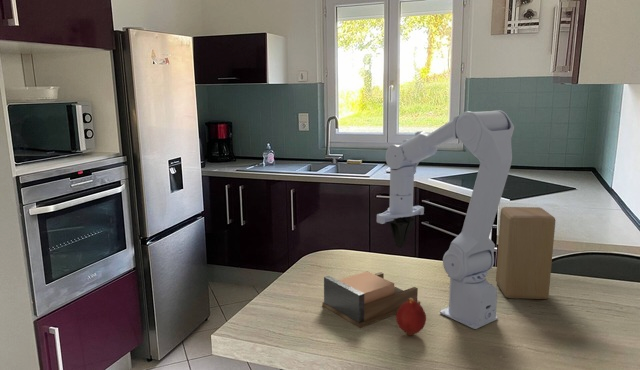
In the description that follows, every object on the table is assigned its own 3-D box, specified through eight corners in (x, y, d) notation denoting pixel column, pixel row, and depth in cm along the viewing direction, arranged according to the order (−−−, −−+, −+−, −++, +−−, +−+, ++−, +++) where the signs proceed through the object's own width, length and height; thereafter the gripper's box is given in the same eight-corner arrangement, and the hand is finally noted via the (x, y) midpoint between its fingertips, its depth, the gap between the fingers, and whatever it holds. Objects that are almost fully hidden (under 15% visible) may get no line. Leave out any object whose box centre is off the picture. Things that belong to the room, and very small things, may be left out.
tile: (394, 296, 110) (394, 283, 109) (359, 308, 104) (359, 294, 103) (367, 283, 117) (367, 271, 116) (333, 293, 111) (333, 281, 110)
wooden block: (535, 283, 124) (542, 206, 120) (549, 301, 114) (557, 217, 110) (494, 282, 125) (499, 205, 121) (505, 299, 115) (511, 216, 111)
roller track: (420, 304, 112) (421, 275, 111) (360, 327, 102) (360, 296, 101) (380, 286, 123) (381, 259, 121) (322, 305, 112) (322, 276, 111)
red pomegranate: (405, 325, 103) (406, 289, 101) (430, 333, 99) (431, 296, 98) (390, 335, 99) (391, 298, 97) (416, 345, 95) (417, 306, 93)
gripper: (410, 186, 128) (408, 236, 131) (368, 194, 120) (367, 247, 122) (431, 191, 123) (428, 243, 125) (388, 199, 114) (387, 255, 117)
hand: (400, 246), depth 124 cm, fingers closed
